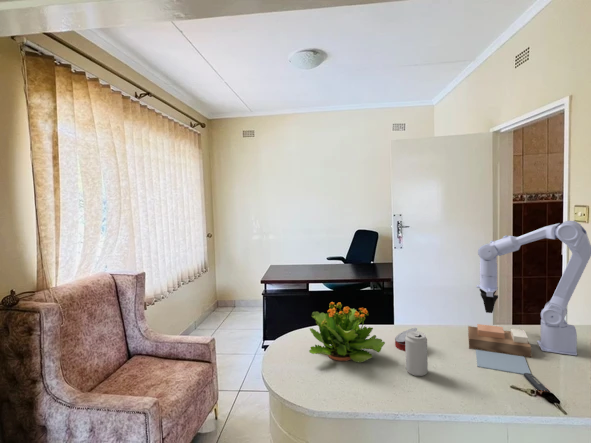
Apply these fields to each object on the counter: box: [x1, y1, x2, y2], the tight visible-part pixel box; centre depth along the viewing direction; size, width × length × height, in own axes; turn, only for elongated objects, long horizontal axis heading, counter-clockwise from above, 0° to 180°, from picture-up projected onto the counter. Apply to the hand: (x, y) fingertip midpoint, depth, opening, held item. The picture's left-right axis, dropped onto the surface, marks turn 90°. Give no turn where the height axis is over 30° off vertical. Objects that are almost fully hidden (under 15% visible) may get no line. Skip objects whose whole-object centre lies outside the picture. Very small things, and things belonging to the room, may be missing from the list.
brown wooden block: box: [467, 325, 532, 358], centre depth 117 cm, size 18×12×4 cm, turn 64°
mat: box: [475, 349, 532, 376], centre depth 106 cm, size 14×12×1 cm
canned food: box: [394, 327, 418, 352], centre depth 119 cm, size 10×9×9 cm
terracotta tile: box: [476, 323, 505, 339], centre depth 119 cm, size 8×6×2 cm
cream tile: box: [510, 328, 529, 344], centre depth 114 cm, size 4×7×2 cm, turn 154°
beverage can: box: [404, 330, 429, 377], centre depth 102 cm, size 6×6×12 cm
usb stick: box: [523, 372, 551, 393], centre depth 93 cm, size 10×3×2 cm, turn 171°
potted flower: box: [308, 301, 386, 363], centre depth 115 cm, size 25×24×18 cm
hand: (488, 309), depth 127 cm, fingers open, 5 cm apart
